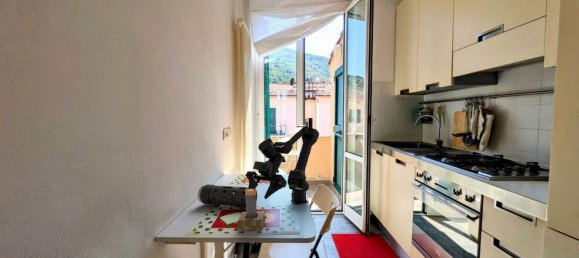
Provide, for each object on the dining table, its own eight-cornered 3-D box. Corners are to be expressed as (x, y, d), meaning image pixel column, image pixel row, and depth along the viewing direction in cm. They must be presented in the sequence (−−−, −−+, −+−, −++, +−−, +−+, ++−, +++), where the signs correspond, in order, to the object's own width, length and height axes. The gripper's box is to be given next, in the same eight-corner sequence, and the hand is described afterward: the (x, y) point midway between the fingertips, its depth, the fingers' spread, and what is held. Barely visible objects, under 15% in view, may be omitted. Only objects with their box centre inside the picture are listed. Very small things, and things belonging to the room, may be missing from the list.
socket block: (264, 220, 107) (264, 211, 106) (262, 230, 98) (261, 219, 97) (243, 221, 107) (242, 211, 107) (238, 231, 98) (237, 220, 98)
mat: (239, 213, 116) (239, 212, 116) (248, 219, 109) (248, 218, 109) (219, 218, 111) (219, 217, 111) (227, 225, 104) (227, 223, 104)
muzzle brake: (248, 213, 117) (247, 190, 116) (197, 208, 126) (195, 187, 126) (258, 205, 126) (257, 184, 125) (209, 201, 135) (208, 182, 135)
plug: (255, 222, 105) (253, 188, 104) (258, 226, 101) (257, 190, 101) (245, 225, 103) (243, 190, 102) (249, 228, 100) (247, 192, 99)
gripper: (247, 152, 113) (228, 183, 105) (281, 154, 102) (263, 189, 94) (260, 167, 120) (244, 197, 112) (293, 170, 109) (278, 204, 100)
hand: (256, 196), depth 104 cm, fingers open, 9 cm apart
